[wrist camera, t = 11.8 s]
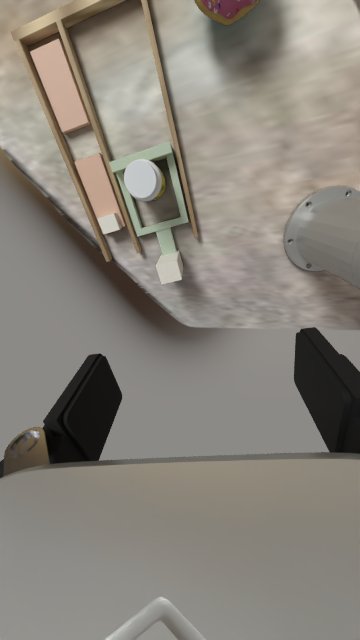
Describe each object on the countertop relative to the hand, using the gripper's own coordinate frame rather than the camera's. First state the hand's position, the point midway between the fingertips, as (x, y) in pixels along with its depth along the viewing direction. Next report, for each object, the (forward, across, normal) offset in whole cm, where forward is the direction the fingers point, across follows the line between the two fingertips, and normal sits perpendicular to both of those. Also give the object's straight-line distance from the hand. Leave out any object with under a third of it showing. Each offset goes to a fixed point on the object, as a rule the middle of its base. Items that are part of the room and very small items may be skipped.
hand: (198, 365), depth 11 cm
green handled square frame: (+31, +5, -5) cm, 32 cm away
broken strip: (+31, +14, -16) cm, 37 cm away
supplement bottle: (+31, +6, -10) cm, 34 cm away
